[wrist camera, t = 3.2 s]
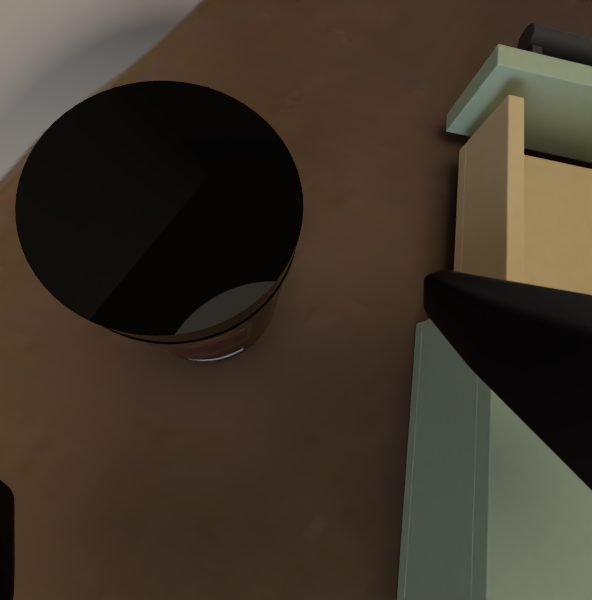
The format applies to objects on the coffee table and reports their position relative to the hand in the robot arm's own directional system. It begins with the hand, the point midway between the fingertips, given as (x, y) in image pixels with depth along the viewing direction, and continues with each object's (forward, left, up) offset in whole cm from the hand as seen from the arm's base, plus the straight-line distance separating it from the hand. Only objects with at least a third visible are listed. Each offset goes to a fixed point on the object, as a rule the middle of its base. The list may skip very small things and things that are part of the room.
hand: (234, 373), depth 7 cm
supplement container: (+4, +3, -12) cm, 12 cm away
